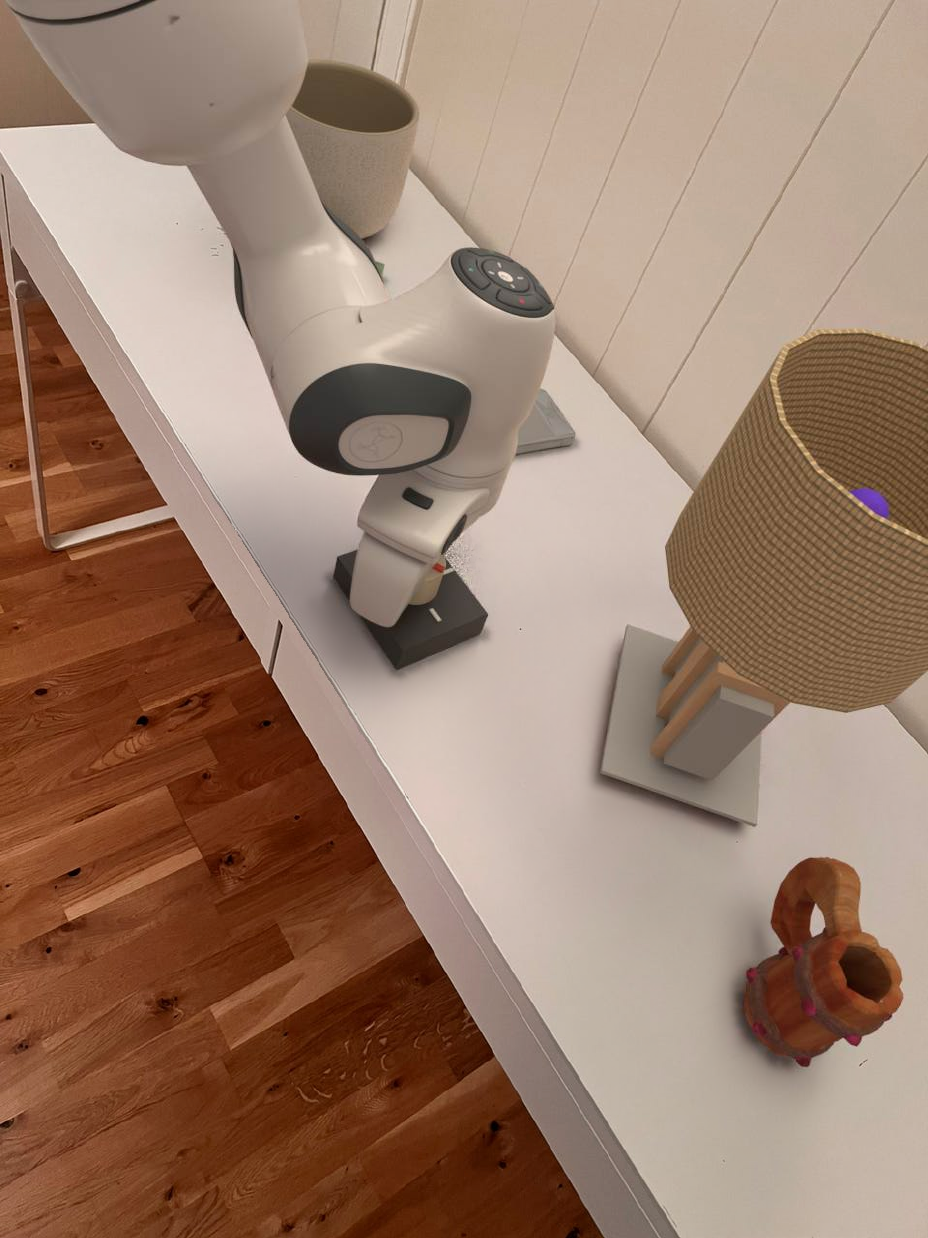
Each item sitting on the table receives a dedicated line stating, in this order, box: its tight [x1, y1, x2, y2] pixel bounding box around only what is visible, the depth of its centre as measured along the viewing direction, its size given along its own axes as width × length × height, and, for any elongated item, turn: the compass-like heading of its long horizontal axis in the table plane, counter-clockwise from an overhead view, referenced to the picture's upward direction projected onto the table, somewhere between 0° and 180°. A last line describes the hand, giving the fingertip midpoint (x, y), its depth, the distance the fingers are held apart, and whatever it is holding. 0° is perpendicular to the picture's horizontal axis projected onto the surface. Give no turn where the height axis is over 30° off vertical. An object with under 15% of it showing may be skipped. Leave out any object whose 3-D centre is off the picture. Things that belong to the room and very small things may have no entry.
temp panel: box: [332, 548, 489, 671], centre depth 80 cm, size 11×9×3 cm
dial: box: [409, 554, 447, 605], centre depth 77 cm, size 4×4×4 cm
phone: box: [515, 388, 576, 456], centre depth 97 cm, size 8×16×1 cm, turn 116°
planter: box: [286, 59, 420, 240], centre depth 109 cm, size 17×17×15 cm
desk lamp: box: [599, 328, 928, 828], centre depth 66 cm, size 20×20×35 cm
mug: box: [742, 856, 904, 1068], centre depth 63 cm, size 12×7×13 cm, turn 179°
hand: (413, 579), depth 78 cm, fingers closed on dial, 4 cm apart
